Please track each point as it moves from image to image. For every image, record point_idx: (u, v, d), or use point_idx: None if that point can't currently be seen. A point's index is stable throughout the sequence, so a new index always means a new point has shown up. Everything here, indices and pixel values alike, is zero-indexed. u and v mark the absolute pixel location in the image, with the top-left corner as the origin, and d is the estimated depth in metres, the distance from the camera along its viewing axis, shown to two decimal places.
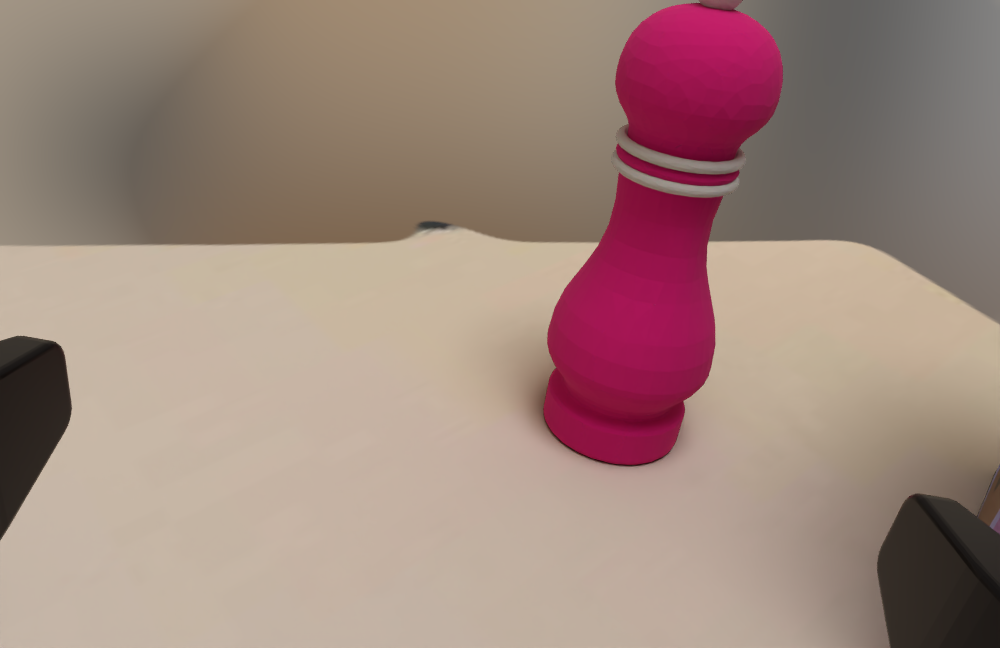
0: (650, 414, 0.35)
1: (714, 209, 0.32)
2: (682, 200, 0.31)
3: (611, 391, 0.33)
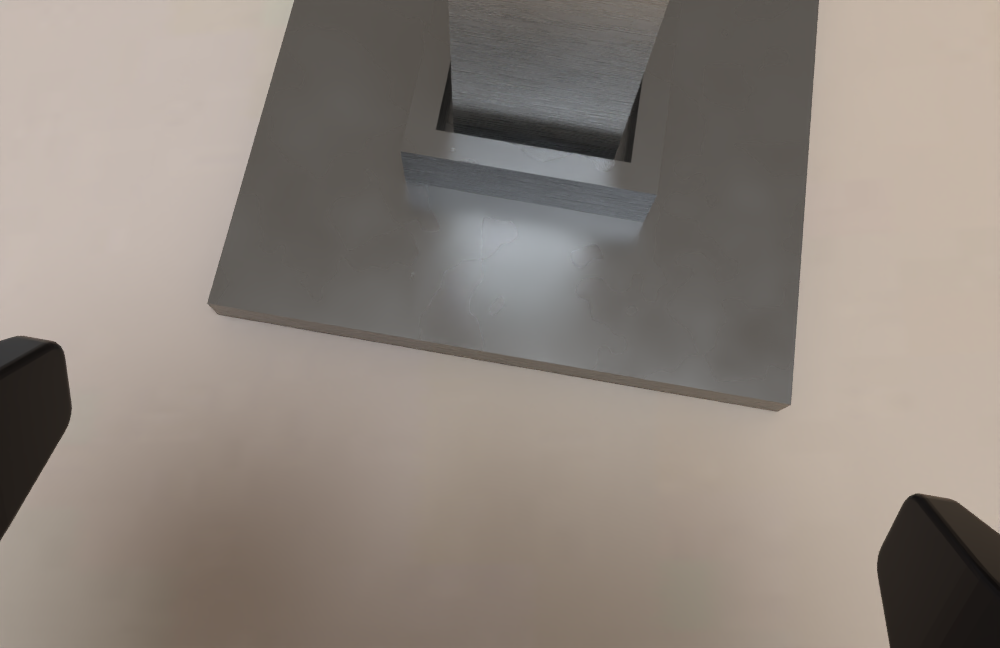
0: None
1: None
2: None
3: None
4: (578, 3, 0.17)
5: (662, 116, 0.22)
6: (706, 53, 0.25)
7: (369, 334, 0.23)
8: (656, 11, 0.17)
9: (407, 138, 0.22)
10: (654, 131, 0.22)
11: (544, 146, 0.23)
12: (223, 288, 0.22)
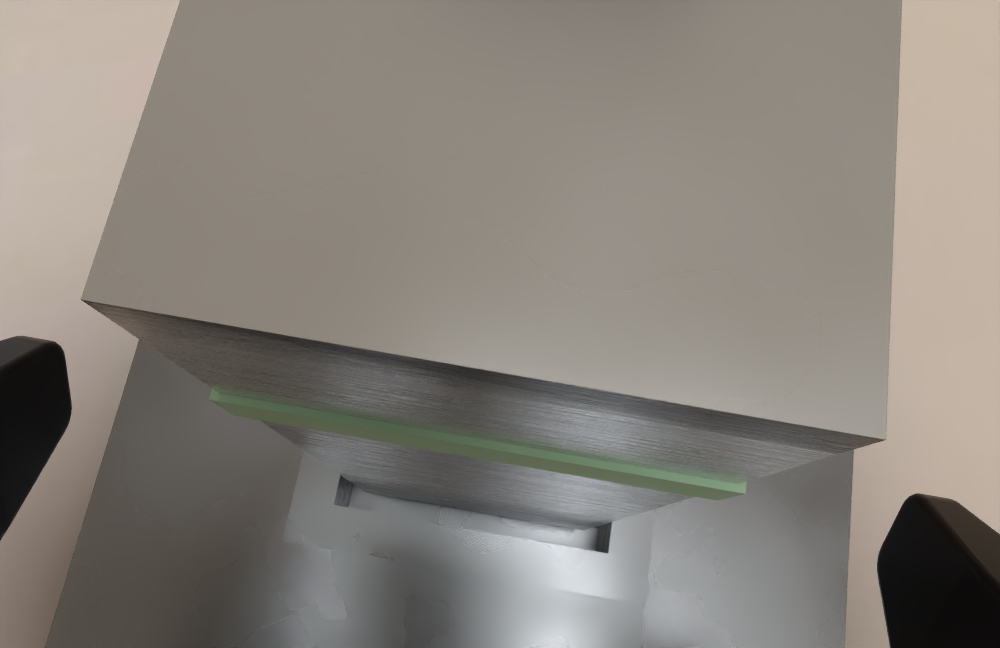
0: None
1: None
2: None
3: None
4: (513, 487, 0.11)
5: None
6: None
7: None
8: (637, 507, 0.10)
9: (293, 518, 0.16)
10: None
11: (488, 512, 0.16)
12: None
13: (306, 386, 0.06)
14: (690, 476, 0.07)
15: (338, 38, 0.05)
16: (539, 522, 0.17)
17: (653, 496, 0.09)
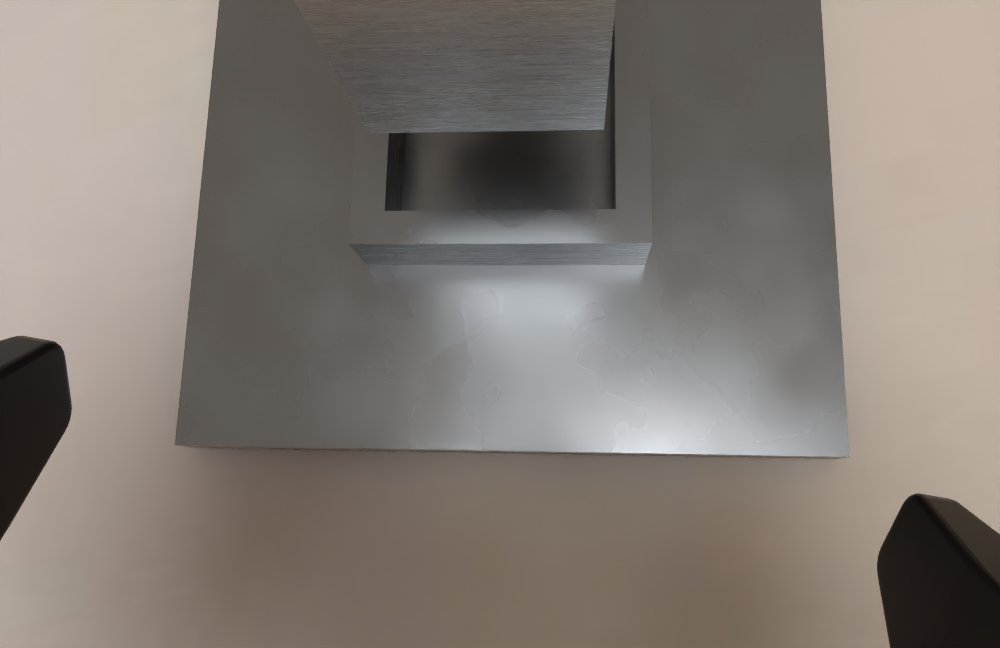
0: None
1: None
2: None
3: None
4: None
5: (645, 143, 0.19)
6: (690, 43, 0.21)
7: (356, 448, 0.20)
8: None
9: (354, 227, 0.19)
10: (638, 164, 0.19)
11: (498, 122, 0.15)
12: (190, 425, 0.20)
13: None
14: None
15: None
16: (555, 128, 0.15)
17: None
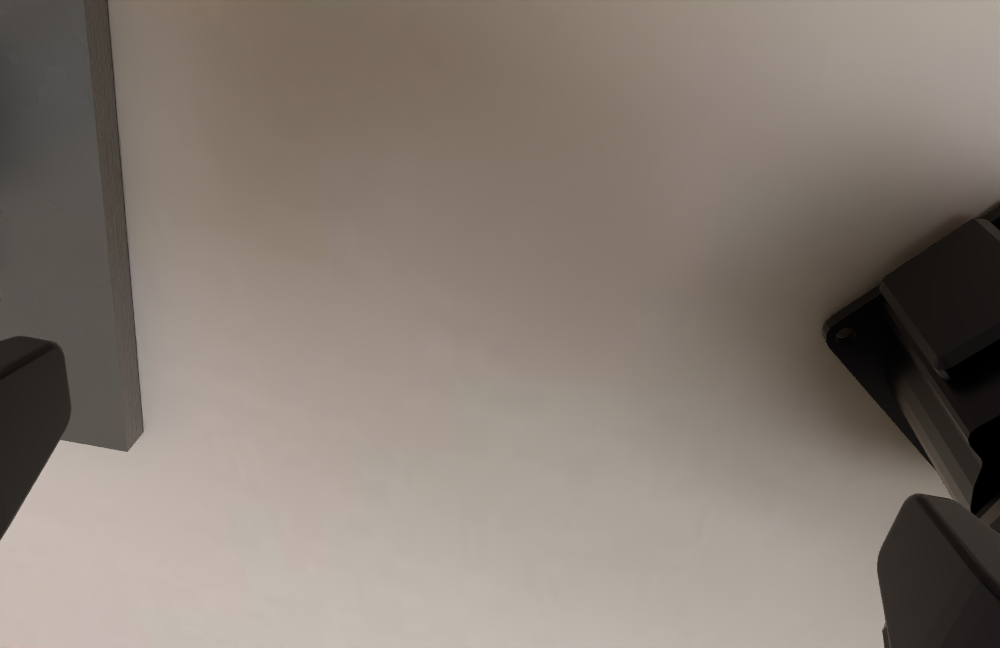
0: None
1: None
2: None
3: None
4: None
5: None
6: None
7: (121, 320, 0.23)
8: None
9: None
10: None
11: None
12: (111, 440, 0.25)
13: None
14: None
15: None
16: None
17: None
